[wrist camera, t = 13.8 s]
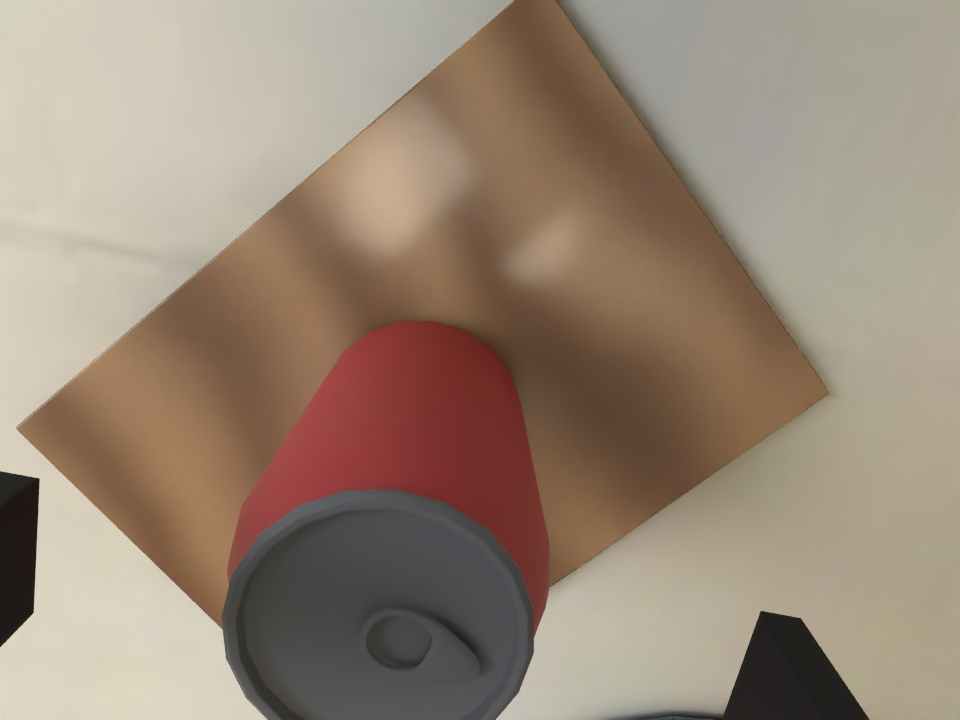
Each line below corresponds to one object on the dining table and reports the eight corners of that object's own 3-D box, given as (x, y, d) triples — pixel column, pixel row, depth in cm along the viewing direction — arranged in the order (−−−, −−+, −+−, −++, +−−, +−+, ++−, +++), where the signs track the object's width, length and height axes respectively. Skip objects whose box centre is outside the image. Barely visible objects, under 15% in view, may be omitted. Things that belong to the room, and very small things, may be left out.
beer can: (467, 531, 26) (464, 836, 14) (291, 455, 25) (137, 712, 13) (555, 368, 24) (632, 561, 13) (371, 281, 23) (274, 401, 12)
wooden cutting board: (539, -19, 22) (540, -23, 21) (824, 388, 25) (830, 393, 25) (23, 423, 25) (14, 428, 25) (335, 728, 29) (333, 738, 28)
